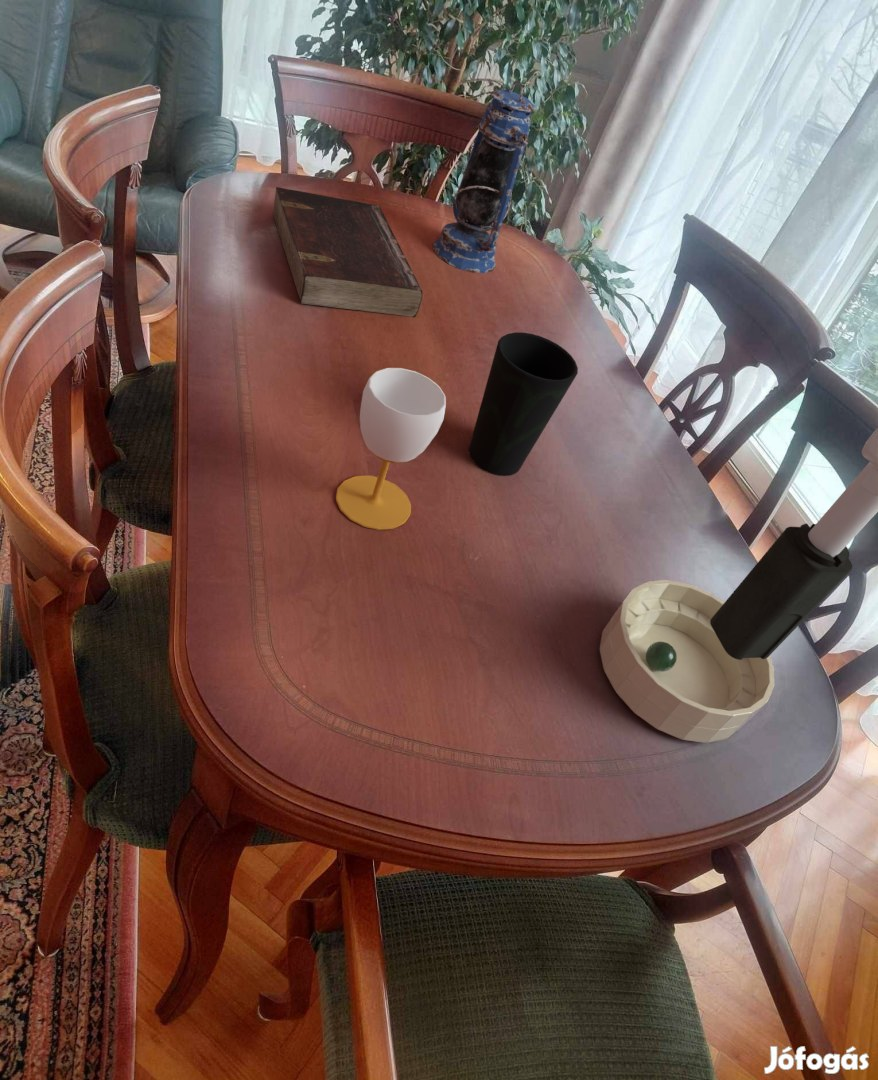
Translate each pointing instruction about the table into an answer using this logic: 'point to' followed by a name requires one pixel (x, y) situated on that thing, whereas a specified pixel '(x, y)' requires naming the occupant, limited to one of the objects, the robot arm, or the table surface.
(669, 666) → the bead
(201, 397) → the table surface
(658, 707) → the bowl
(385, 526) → the cup
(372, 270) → the hardback book
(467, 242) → the lantern
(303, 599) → the table surface
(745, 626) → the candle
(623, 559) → the table surface
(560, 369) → the cup
